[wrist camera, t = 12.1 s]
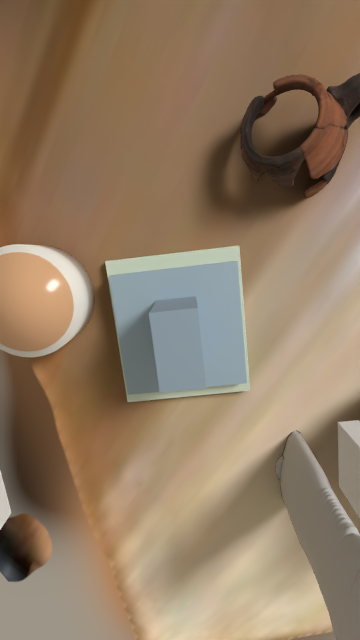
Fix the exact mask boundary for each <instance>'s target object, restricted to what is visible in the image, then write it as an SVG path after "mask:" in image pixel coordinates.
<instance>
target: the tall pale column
mask: <svg viewBox="0 0 360 640" xmlns="http://www.w3.org/2000/svg"><path fill="white" fill-rule="evenodd" d="M275 470H276V474H277V476H278V478H279V480H280V482H281V495H282V498H283V501H284V503H285V506H286V508H287V511H288V513H289V516H290V519H291V521H292V524H293V526H294V529H295V531H296V534H297V536H298V539H299V542H300V544H301V546H302V548H303V550H304V551H305V553H306V555H307V557H308V560H309V562H310V564H311V567H312V569H313V572H314V574H315V576H316V579H317V582H318V584H319V587H320V590H321V592H322V595H323V598H324V601H325V603H326V606H327V609H328V611H329V615H330V619H331V623H332V627H333V631H334V635H335V638H336V640H360V534H359V531H358V530H357V528H356V527H355V525H354V524H353V522H352V521H351V520H350V518H349V516H348V515H347V513H346V511H345V510H344V508H343V507H342V505H341V504H340V502H339V500H338V498H337V497H336V495H335V494H334V492H333V490H332V488H331V486H330V483H329V481H328V479H327V477H326V475H325V473H324V471H323V470H322V468H321V466H320V465H319V463H318V461H317V460H316V458H315V456H314V455H313V453H312V451H311V450H310V448H309V447H308V445H307V443H306V442H305V440H304V438H303V437H302V435H301V433H300V432H298V431H294V432H292V433H291V434H290V435H289V436H288V438H287V441H286V445H285V449H284V452H283V456H281V457H280V458H279V459H278V461H277V462H276V466H275Z"/></svg>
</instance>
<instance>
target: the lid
mask: <svg viewBox="0 0 360 640" xmlns="http://www.w3.org/2000/svg"><path fill="white" fill-rule="evenodd" d="M109 279H110V285H111V292H112V298H113V304H114V310H115V317H116V323H117V329H118V336H119V342H120V348H121V355H122V361H123V367H124V374H125V380H126V386H127V393H128V395H131V394H142V393H152V392H160V393H162V392H172V391H182V390H193V389H203V388H206V387H213V386H224V385H234V384H244V383H247V376H246V363H245V350H244V337H243V324H242V311H241V298H240V285H239V272H238V261H229V262H221V263H212V264H203V265H194V266H186V267H177V268H168V269H160V270H151V271H142V272H134V273H125V274H116V275H111V276H109Z"/></svg>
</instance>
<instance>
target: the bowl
mask: <svg viewBox="0 0 360 640" xmlns="http://www.w3.org/2000/svg"><path fill="white" fill-rule="evenodd" d="M94 298H95V297H94V289H93V285H92V282H91V279H90V277H89V275H88V273H87V271H86V270H85V269H84V267H83V266H82V265H81V264H80V262H79V261H78V260H76V259H75V258H74V257H73V256H72V255H70V254H69V253H67V252H65V251H63V250H61V249H58V248H56V247H52V246H45V245H22V244H18V245H8V246H4V247H1V248H0V349H1V350H3V351H5V352H7V353H10V354H12V355H16V356H21V357H39V356H44V355H47V354H50V353H52V352H54V351H56V350H58V349H59V348H61V347H62V346H64V345H65V344H66V343H67V342H69V341H70V340H71V339H73V338H74V337H75V336H77V335H78V334H79V333H80V332H81V331H82V330H83V329H84V328H85V327H86V325H87V324H88V322H89V320H90V318H91V316H92V313H93V309H94Z"/></svg>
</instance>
